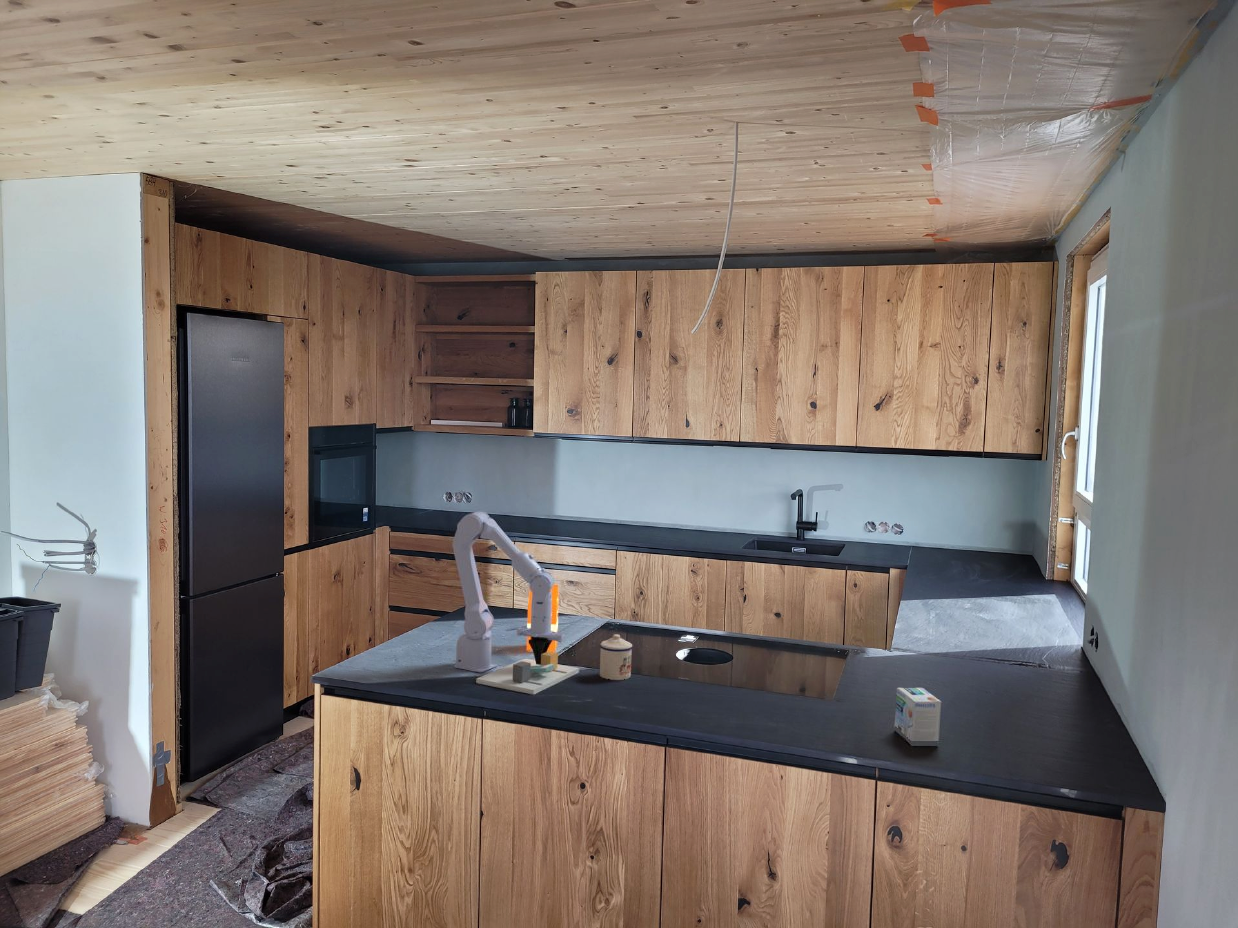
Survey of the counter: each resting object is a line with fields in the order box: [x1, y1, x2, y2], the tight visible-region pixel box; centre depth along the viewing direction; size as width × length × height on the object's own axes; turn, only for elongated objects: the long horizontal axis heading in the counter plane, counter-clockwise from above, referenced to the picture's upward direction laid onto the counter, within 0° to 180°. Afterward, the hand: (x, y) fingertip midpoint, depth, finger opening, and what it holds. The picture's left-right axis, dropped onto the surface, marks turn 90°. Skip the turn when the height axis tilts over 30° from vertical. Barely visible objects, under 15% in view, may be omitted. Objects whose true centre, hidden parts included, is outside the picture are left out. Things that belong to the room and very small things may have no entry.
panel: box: [475, 658, 580, 696], centre depth 252 cm, size 18×24×2 cm
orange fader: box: [541, 651, 559, 671], centre depth 256 cm, size 3×4×4 cm
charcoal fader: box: [512, 661, 531, 683], centre depth 244 cm, size 3×4×4 cm
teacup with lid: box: [599, 633, 633, 681], centre depth 257 cm, size 12×9×12 cm
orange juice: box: [526, 584, 560, 652], centre depth 282 cm, size 8×9×20 cm
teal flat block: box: [530, 664, 555, 673], centre depth 250 cm, size 8×4×1 cm, turn 63°
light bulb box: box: [894, 687, 942, 741], centre depth 214 cm, size 11×7×11 cm, turn 5°
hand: (539, 663), depth 257 cm, fingers closed
